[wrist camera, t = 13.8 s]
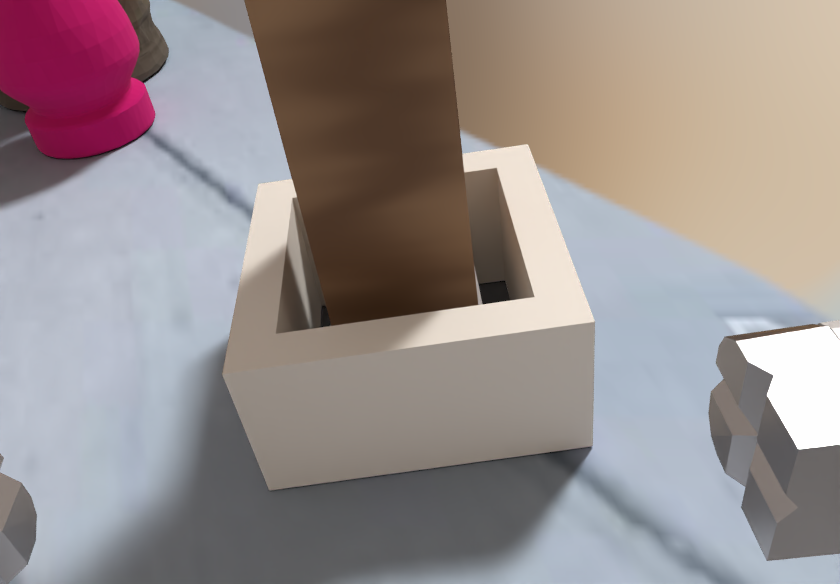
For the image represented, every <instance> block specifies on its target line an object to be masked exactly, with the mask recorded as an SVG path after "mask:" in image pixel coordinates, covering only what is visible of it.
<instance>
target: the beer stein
mask: <svg viewBox="0 0 840 584" xmlns="http://www.w3.org/2000/svg"><path fill="white" fill-rule="evenodd" d="M118 2H119V3H120V5H121V6H122V8H123V9H124V11H125V12H126V14H127V16H128V18H129V20H130V22H131V24H132V26H133V28H134V30H135V32H136V35H137V37H138V40H139V50H140V51H139V56H138V59H137V62H136V65H135V68H134V70H133V73H132V75H131V77H132V78H135V79H138V80H139V81H141V82H142V81H144V80H146V79H147V78H148V77H150V76H151V75H153V74H154V73H155V72H157V71H158V70H159V68H160V67H161V66H162V65H163V63H164V62H165V60H166V59H167V57H168V53H169V50H168V46H167V44H166V42H165V40H164V38H163V36H162V34H161V33H160V31H159V29H158V28H157V27H156V26H155V25H154V23H153V21H152V17H151V13H150V2H149V0H118ZM0 105H2V106H4V107H6V108H8V109H11V110H19V111H28V109H29V108H30V107H29V106H27V105H25V104H23V103H21V102H19V101H17V100H15V99H13V98H11V97H10V96H8V95H7V94H5V93H3V92H2V91H1V90H0Z"/></svg>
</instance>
